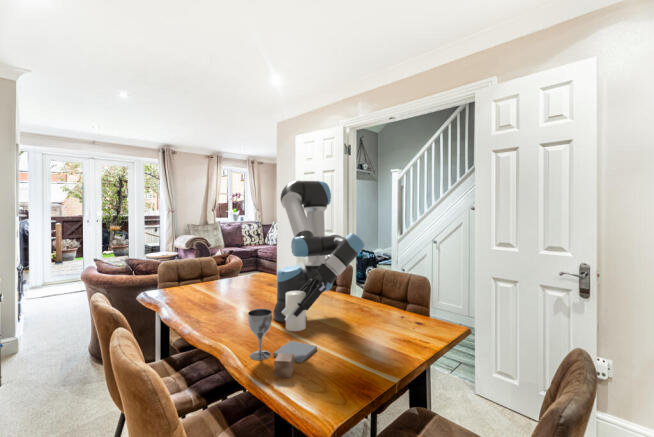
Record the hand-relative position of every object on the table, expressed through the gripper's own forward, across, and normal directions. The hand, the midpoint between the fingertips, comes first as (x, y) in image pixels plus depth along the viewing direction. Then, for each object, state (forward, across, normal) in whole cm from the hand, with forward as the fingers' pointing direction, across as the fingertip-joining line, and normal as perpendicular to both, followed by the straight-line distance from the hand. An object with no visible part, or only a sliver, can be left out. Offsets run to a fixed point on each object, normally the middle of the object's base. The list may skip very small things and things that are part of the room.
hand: (285, 318), depth 107 cm
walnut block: (+11, +12, +7) cm, 18 cm away
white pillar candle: (0, 0, +5) cm, 5 cm away
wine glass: (+15, -2, +3) cm, 16 cm away
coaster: (+6, 0, +11) cm, 13 cm away
